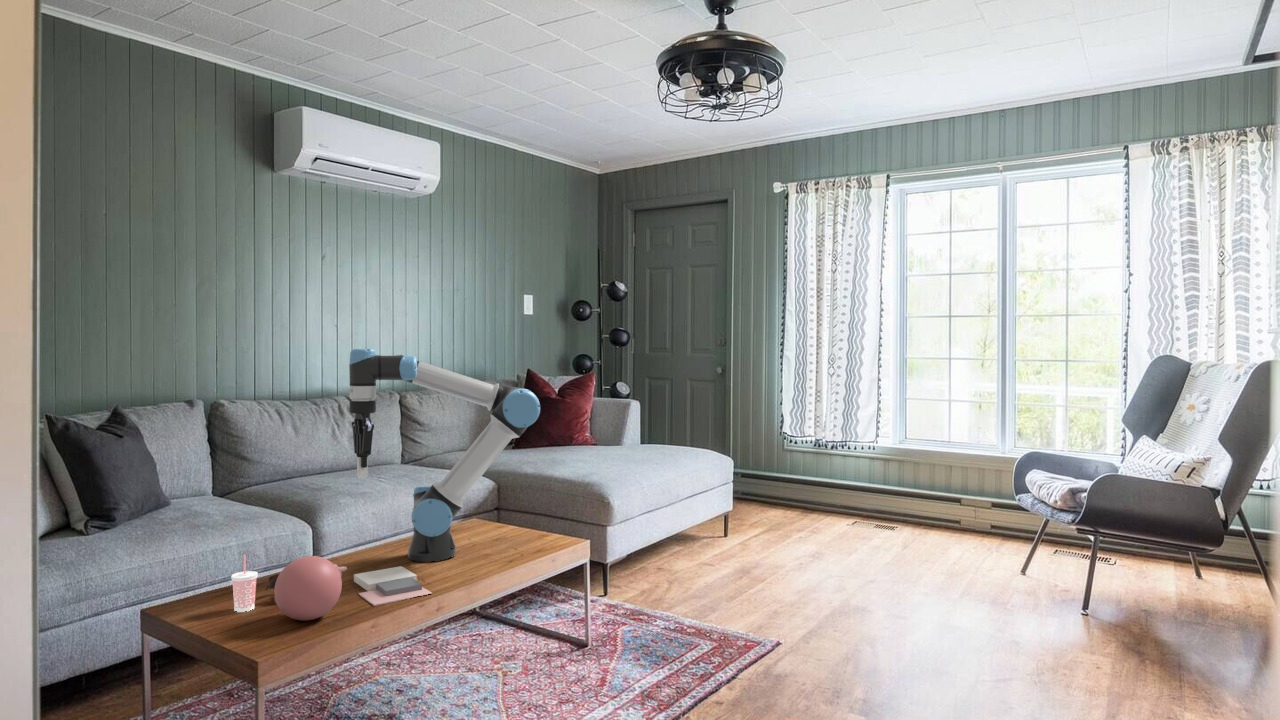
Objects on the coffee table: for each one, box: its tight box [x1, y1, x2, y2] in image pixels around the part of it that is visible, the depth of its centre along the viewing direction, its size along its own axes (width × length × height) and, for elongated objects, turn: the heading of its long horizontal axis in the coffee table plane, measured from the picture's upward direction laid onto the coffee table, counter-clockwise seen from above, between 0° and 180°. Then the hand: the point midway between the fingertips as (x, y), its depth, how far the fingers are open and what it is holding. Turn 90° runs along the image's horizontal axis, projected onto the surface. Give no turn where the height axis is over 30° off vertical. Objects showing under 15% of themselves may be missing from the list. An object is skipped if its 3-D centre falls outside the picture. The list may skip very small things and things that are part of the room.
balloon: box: [273, 555, 348, 621], centre depth 190 cm, size 15×20×15 cm
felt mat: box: [358, 586, 433, 607], centre depth 207 cm, size 16×12×1 cm
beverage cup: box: [230, 554, 259, 613], centre depth 194 cm, size 6×6×14 cm
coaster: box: [376, 577, 423, 596], centre depth 210 cm, size 10×8×2 cm
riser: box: [353, 565, 418, 592], centre depth 218 cm, size 14×12×2 cm
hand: (362, 478), depth 227 cm, fingers closed
